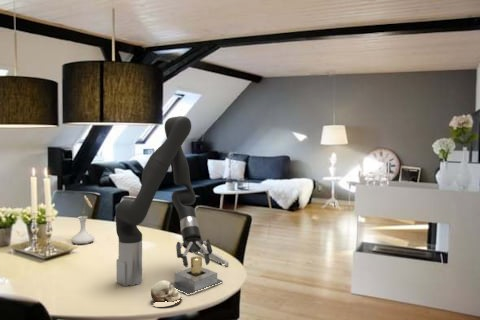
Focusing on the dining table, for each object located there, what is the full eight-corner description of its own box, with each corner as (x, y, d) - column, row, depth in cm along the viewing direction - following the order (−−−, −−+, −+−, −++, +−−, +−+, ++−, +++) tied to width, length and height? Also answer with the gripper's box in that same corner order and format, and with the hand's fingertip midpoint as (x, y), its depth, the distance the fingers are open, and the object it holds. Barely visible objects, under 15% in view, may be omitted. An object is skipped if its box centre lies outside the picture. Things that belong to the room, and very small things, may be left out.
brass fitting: (195, 285, 160) (195, 260, 159) (188, 282, 163) (188, 258, 162) (203, 282, 163) (204, 258, 163) (196, 279, 166) (196, 255, 166)
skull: (182, 290, 156) (182, 277, 148) (181, 316, 149) (181, 305, 141) (150, 289, 154) (149, 277, 147) (147, 316, 147) (146, 305, 140)
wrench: (224, 273, 185) (188, 249, 207) (228, 272, 186) (191, 249, 208) (226, 256, 183) (189, 234, 205) (229, 256, 185) (192, 234, 207)
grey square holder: (188, 296, 153) (188, 283, 152) (168, 286, 161) (169, 274, 160) (222, 283, 166) (222, 271, 165) (202, 275, 174) (203, 263, 173)
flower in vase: (89, 245, 211) (89, 198, 209) (67, 245, 211) (67, 197, 209) (98, 238, 224) (98, 194, 222) (78, 238, 224) (77, 193, 222)
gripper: (175, 226, 165) (181, 262, 156) (208, 223, 171) (216, 258, 161) (172, 235, 171) (178, 271, 161) (204, 233, 176) (212, 267, 167)
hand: (197, 265), depth 161 cm, fingers open, 8 cm apart
